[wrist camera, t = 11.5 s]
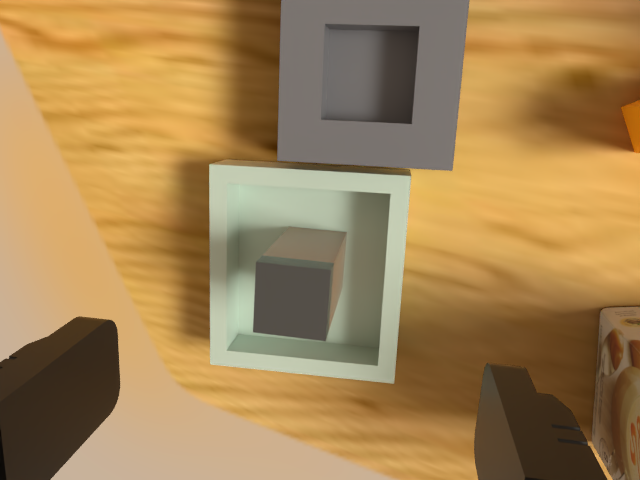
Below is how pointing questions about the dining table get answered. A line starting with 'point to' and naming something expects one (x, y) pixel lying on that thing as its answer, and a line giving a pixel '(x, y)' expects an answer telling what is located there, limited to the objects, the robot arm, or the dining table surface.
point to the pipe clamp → (633, 123)
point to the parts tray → (315, 213)
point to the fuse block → (371, 81)
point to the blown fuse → (299, 283)
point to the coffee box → (618, 392)
